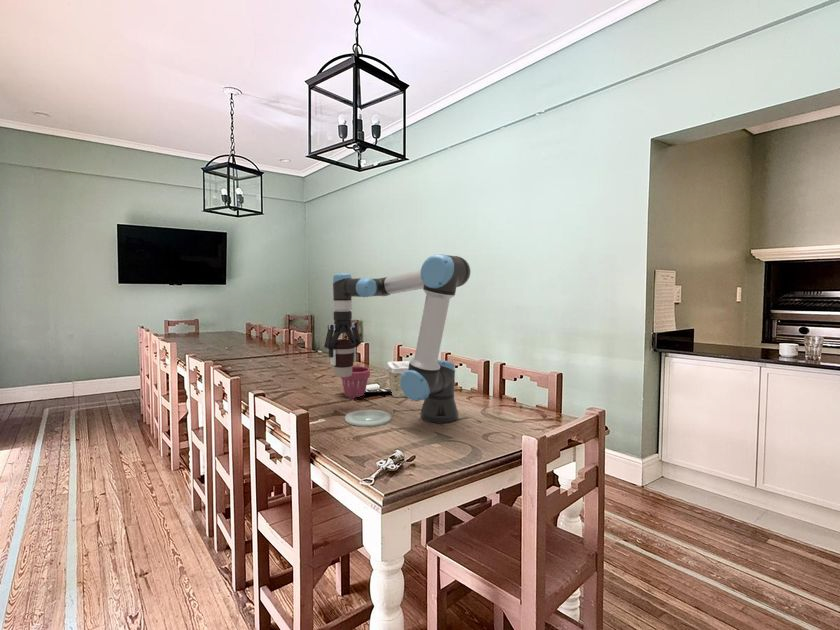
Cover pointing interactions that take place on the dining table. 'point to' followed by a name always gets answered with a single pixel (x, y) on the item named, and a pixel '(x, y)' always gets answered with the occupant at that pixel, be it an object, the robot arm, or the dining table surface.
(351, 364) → the coffee cup
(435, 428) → the dining table surface
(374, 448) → the dining table surface
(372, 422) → the dish
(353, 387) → the plant pot
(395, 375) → the storage basket
